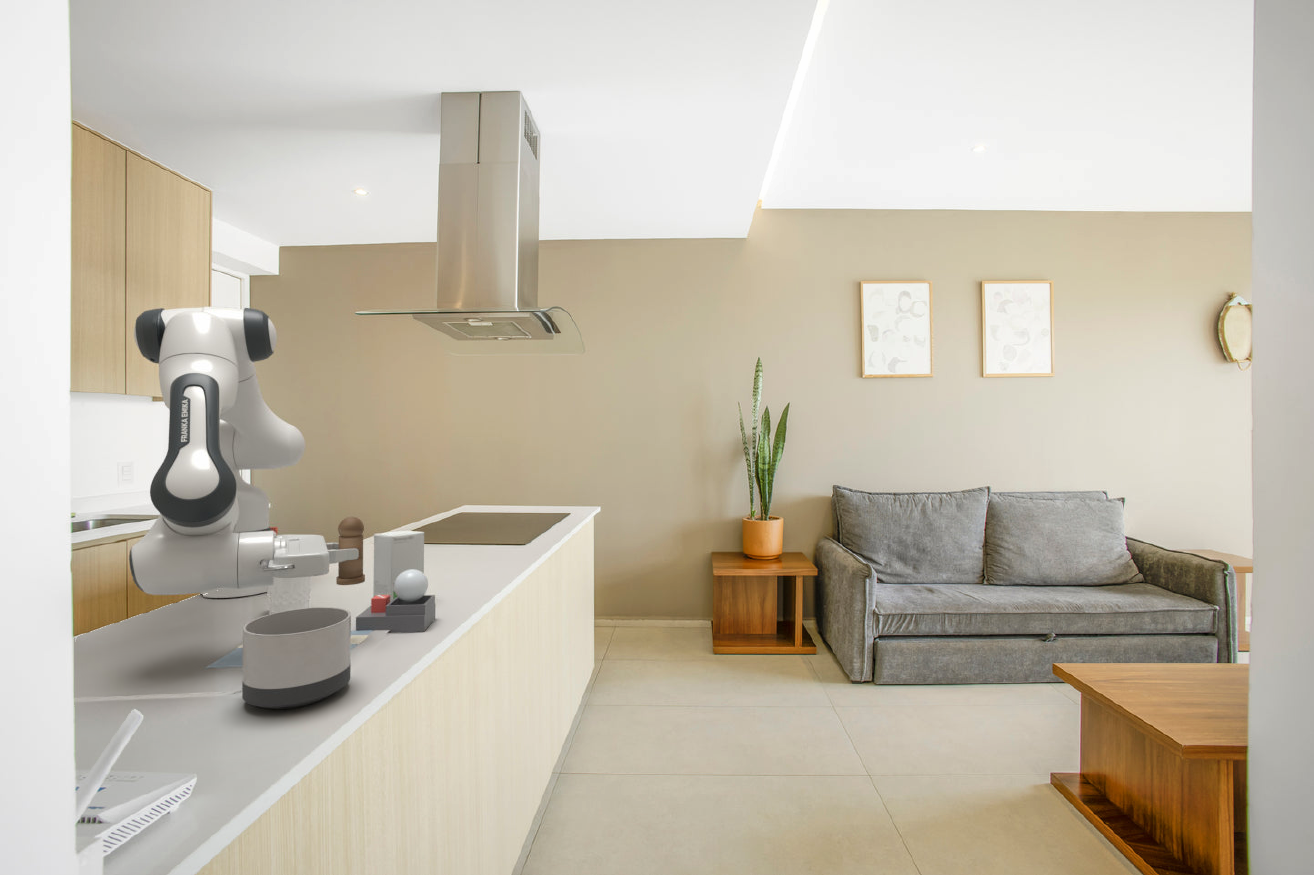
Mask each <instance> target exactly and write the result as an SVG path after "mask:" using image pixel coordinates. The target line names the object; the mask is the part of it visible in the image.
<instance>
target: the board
mask: <svg viewBox="0 0 1314 875" xmlns="http://www.w3.org/2000/svg"><path fill="white" fill-rule="evenodd" d="M373 631H374V630H359V631H356V630H351V651H353V649H354V648H355V647H356V646H357V645H360V644H361V643H362V642H364V641H365V640H366V639H367V638H368V637H369V636H370V634H371V633H372V632H373ZM242 657H243V643H242V644H240V645H237V647H236V648H235V649H234V650H231V651H230V652H229V653H227V654H225V655H223V656H222V657H221V658H219V659H217V660H216V661H214V662H212V663H210V664H208V665H207V666H206V667H204V669H214V668H215V669H217V668H242Z"/></svg>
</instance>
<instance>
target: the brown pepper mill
mask: <svg viewBox="0 0 1314 875" xmlns="http://www.w3.org/2000/svg"><path fill="white" fill-rule="evenodd" d="M364 530H365V525H364V523H363V521H362V520H361V519H360V518H358V517H355V516H348V517H346V518H343V519H342V520H341V521H340V522H339V524H338V528H337V532H338V535H339V536H338V543H339V549H346V548H357V549H358V551H359V557H358V558H357V559H354V560H346V561H342V562H338V575H337V576H336V579H335V581H336V582H335V583H336V585H338V586H352V585H358V584H363V583H365V581H366V574H364V534H363V533H364Z"/></svg>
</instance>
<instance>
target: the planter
mask: <svg viewBox="0 0 1314 875" xmlns="http://www.w3.org/2000/svg"><path fill="white" fill-rule="evenodd" d="M351 617H352V614H351V612H350V610H348V609H346V608H345V609H344V608H341V607H340V608H339V607H330V606H318V607H317V606H316V607H315V606H314V607H308V608H301V609H294V610H287V611H282V612H277V613H273V614H269V613H268V614H266V615H263V616H259V617H258V618H254V619H252V620H250V621H248V622H247V623H245V624H244V625H243V627H242V644H243V657H242V667H241V668H242V669H241V670H242V678H241V681H242V682H241V684H242V687H241V692H242V693H241V694H242V695H241V698H242V700H243V701H244V702H245V703H246V704H249V705H251V706H253V707H254V706H255V707H260V708H265V709H266V708H267V709H274V710H280V709H281V710H283V709H285V710H286V709H287V710H288V709H295V708H300V707H305V706H308V705H311V703H312V704H314V703H317V702H320V701H321V700H324V699H325V698H328V697H330V696H331V695H333V694H334V693H337V692H338V691H340V690H341V689H343V688H344V687H346V685H348V683H349V682H350V680H351V666H352V665H351V661H352V660H351V652H352V650H351V631H352V629H351V626H352V623H351V622H352V620H351V619H352V618H351Z"/></svg>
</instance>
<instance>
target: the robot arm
mask: <svg viewBox="0 0 1314 875" xmlns="http://www.w3.org/2000/svg"><path fill="white" fill-rule="evenodd" d="M134 324H135V326H134V328H133V338H134V342H135V344H136V346H137V348H138V350H139V351H140V354H141V355H142V356H143V357H144V358H145V359H146V360H148V361H150V362H151V363H153V364H158V381H159V387H160V392H161V396H162V399H163V403H164V406H165V407H166V408H167V409H169V417H168V418H169V420H168V421H169V422H168V425H169V426H168V444H167V445H168V446H167V452H166V455H165V458H164V460H163V462H162V463H161V465H160V466H159V467H158V469H157V471H156V473H155V474H154V476H153V478H152V481H151V484H150V487H149V494H150V495H149V496H150V500H151V502H152V505H153V506H154V508H155V509H156V510H157V511H158V512H159V515H158V516H157V519H156V520H155V522H154V523H153V525H152V526H151V527H150V528H149V529H148V531H147V533H145V535H144V536H143V537H141V539H139V541H137V542H136V543H135V544H133V545H132V546H131V548H130V551H129V555H128V561H129V568H130V569H129V570H130V574H131V576H132V579H133V582H134V584H135V586H136V587H137V588H138V589H139V590H140V591H141V592H143V593H144V594H147V595H152V596H173V595H175V596H176V595H177V596H178V595H179V596H180V595H192V594H200V595H201V594H205V593H208V594H206V595H203V596H202V597H203V598H210V599H211V598H212V599H213V598H214V599H218V598H219V599H222V598H223V599H224V598H225V599H226V598H238V597H247V596H253V595H258V594H263V593H267V586H270V585H273V584H274V577H276V578H296V577H310V576H311V577H319V576H325V575H328V574H329V573H330V564H337V563H338V564H339V562H342V561H346V560H354V559H357V558H358V557H359V551H358V549H357V548H346V549H339V542H326V540H325V537H324V535H320V534H278V533H279V528H278V527H277V526H272V527H271V526H270V499H269V496H268V494H267V493H266V491H264V490H263V489H261V488H260V487H258V486H256V485H253V484H251V483H250V484H249V483H248V482H246V481H245V480H244V479H243V478H242V476H241V472H240V471H242V470H246V471H247V470H250V471H251V470H276V469H282V468H287V467H293V466H295V465H297V464H298V463H299V462H300V461H301V459H302V458H303V456H304V454H305V450H306V441H305V438H304V435H303V434H302V432H301V431H300V430H299V428H297V426H295V425H292V424H290V423H288V422H286V421H285V420H283V419H282V418H281V417H279V416H278V415H276V413H274V411H272V410H271V409H270V407H269V406H268V405H267V403H266V402H265V400H264V398H263V395H262V392H261V388H260V386H259V380H258V376H257V371H256V370H257V369H256V366H255V363H256V362H261V361H264V360H266V359H267V360H268V359H269V358H270V357H271V356H272V355H273V354H274V351H275V348H276V346H277V342H278V334H277V329H276V327H275V325H274V323H273V322H272V320H271V318H270V316H269V315H268V314H267V313H265V311H263V310H261V309H256V308H250V307H244V309H243V308H237V307H227V306H201V307H200V306H199V307H182V308H181V307H180V308H170V309H165V308H164V307H162V308H161V307H160V308H153V309H150V310H144V311H143V312H142V313H141V314H139V315H138V316H137V317H136V320H135V323H134ZM217 590H218V591H217Z"/></svg>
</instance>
